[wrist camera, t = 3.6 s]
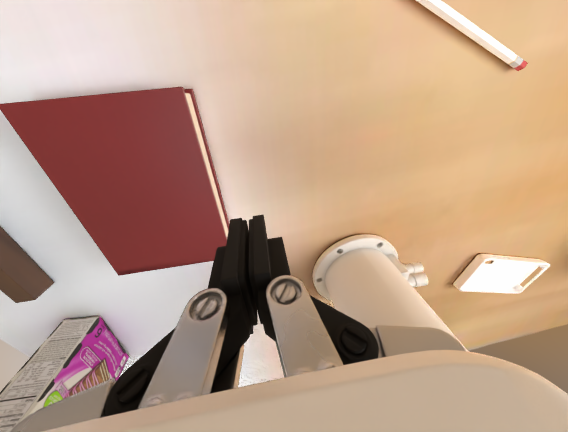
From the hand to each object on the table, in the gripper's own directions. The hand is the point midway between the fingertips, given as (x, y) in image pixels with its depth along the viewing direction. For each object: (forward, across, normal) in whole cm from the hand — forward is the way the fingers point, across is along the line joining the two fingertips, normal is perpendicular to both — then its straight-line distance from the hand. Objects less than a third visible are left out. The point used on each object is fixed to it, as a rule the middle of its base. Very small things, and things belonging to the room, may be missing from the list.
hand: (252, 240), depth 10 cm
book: (+12, +10, 0) cm, 15 cm away
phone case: (+11, -39, +24) cm, 47 cm away
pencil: (+12, -18, -11) cm, 24 cm away
